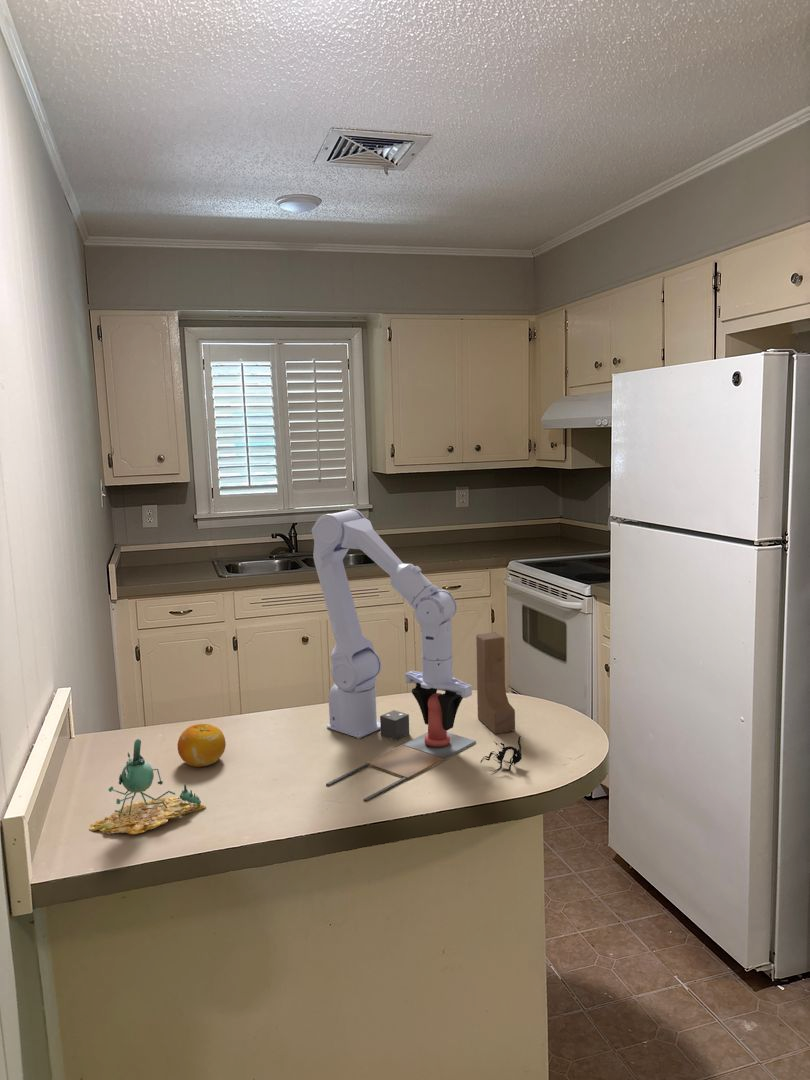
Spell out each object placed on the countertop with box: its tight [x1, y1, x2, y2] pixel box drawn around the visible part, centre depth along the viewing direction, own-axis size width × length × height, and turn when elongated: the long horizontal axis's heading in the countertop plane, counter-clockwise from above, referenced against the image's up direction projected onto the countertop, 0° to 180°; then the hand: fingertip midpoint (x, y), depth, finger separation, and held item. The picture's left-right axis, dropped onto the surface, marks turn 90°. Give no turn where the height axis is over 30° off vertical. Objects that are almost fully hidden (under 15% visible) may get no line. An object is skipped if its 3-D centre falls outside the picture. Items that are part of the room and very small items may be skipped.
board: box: [325, 731, 477, 803], centre depth 144 cm, size 10×30×1 cm, turn 139°
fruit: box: [177, 723, 227, 768], centre depth 146 cm, size 8×8×8 cm
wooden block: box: [475, 632, 516, 735], centre depth 158 cm, size 9×4×18 cm, turn 17°
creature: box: [480, 735, 523, 775], centre depth 141 cm, size 8×5×8 cm
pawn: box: [425, 692, 450, 747], centre depth 150 cm, size 5×5×10 cm
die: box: [379, 709, 410, 741], centre depth 156 cm, size 4×4×4 cm
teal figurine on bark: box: [88, 738, 207, 835], centre depth 124 cm, size 10×18×15 cm, turn 101°
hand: (438, 725), depth 150 cm, fingers open, 4 cm apart
